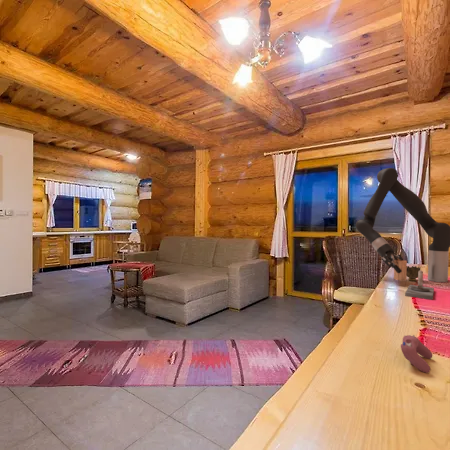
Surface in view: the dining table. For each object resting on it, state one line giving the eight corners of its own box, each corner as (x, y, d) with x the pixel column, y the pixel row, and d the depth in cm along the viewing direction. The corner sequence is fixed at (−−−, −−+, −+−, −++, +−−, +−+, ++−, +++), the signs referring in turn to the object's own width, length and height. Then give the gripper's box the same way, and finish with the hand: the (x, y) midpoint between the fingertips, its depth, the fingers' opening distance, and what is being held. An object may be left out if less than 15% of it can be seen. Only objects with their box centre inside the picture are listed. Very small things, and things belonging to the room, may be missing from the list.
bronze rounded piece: (406, 281, 159) (407, 267, 159) (402, 278, 166) (403, 265, 166) (422, 282, 157) (422, 268, 156) (417, 279, 164) (417, 266, 163)
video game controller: (414, 359, 72) (400, 332, 74) (434, 356, 70) (419, 328, 72) (409, 376, 65) (394, 345, 67) (432, 373, 62) (415, 341, 64)
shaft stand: (409, 287, 144) (410, 266, 144) (433, 290, 138) (434, 268, 138) (405, 295, 128) (405, 272, 128) (432, 299, 122) (433, 274, 122)
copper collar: (398, 277, 154) (398, 259, 154) (408, 279, 149) (408, 260, 149) (391, 278, 152) (391, 260, 152) (402, 280, 147) (402, 261, 147)
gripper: (378, 243, 154) (400, 268, 143) (395, 242, 160) (417, 266, 150) (369, 252, 158) (390, 277, 148) (385, 250, 165) (406, 274, 155)
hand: (403, 271), depth 149 cm, fingers closed on copper collar, 5 cm apart
